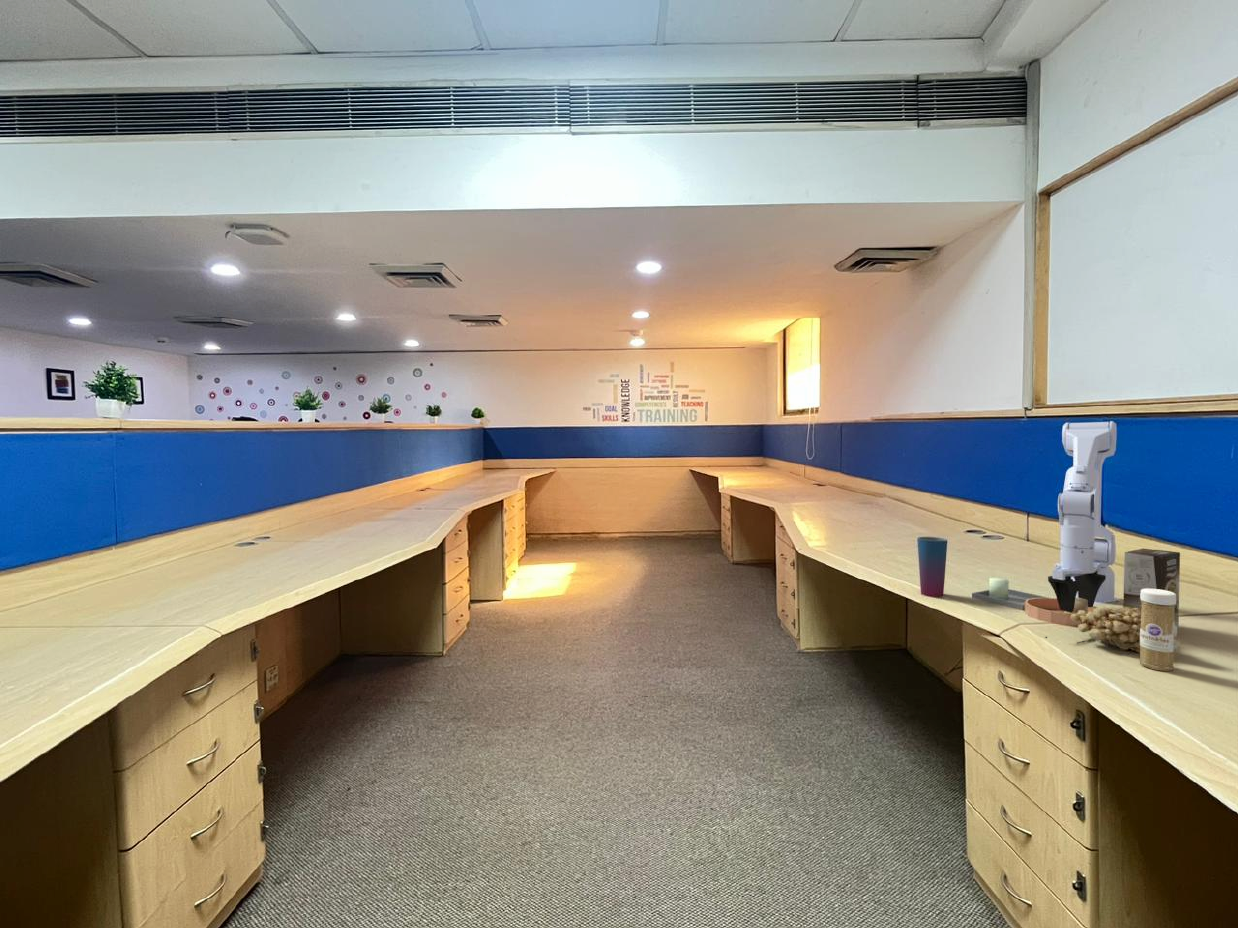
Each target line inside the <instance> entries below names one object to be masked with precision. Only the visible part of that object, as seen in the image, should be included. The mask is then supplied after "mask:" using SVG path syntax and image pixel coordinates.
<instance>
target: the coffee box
mask: <svg viewBox="0 0 1238 928" xmlns="http://www.w3.org/2000/svg"><path fill="white" fill-rule="evenodd" d="M1180 560H1181V552H1179V551H1172V550H1160V549H1150V548H1140V549H1134V550H1129V551H1125V552H1124V560H1123V561H1124V565H1123V567H1124V568H1123V599H1122V601H1123V603H1122V604H1123V605H1122V608H1123V607H1129V608H1130V609H1132V608H1138V609H1139V610H1140V611H1141V609H1142V602H1141V599H1140V593H1141V590H1142V589H1146V588H1149V589H1160V590H1166V591H1170V592H1173V593H1175V594H1176V604H1175V614H1174V621H1175V626H1177V627H1178V628H1179V625H1180V624H1179V623H1180V621H1179V619H1180V573H1181V571H1180V569H1181V567H1180V566H1181V563H1180V562H1181V561H1180Z"/></svg>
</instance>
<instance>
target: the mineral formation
mask: <svg viewBox="0 0 1238 928" xmlns="http://www.w3.org/2000/svg"><path fill="white" fill-rule="evenodd" d="M1070 618H1071V619H1072V620H1073V621H1080V622H1081V623H1082V624H1079V625H1078V626H1077V628H1078V631H1079V632H1080V633H1081V632H1082V633H1085V632H1086V633H1087V632H1088V636H1089V637H1090V638H1092V639H1093V640H1095V641H1100V642H1103V644H1104V643H1105V644H1110V645H1113V646H1117V647H1118V648H1119V649H1121V650H1124V651H1128V649H1130V650H1133V651H1135V652H1138V653H1139V654H1140V628H1141V611H1140V610H1139V609H1138V608H1132V609H1130V608H1129V607H1123V606H1122V607H1120V606H1119V607H1114V606H1111V607H1109V608H1108V607H1106V606H1103V607H1097V608H1095V609H1093V612H1091V611H1089V612H1087V611H1083V610H1079V611H1078V613H1077V614H1072V615H1071V617H1070ZM1178 629H1179V627H1177V626H1175V632H1174V651H1176V650H1177V649H1178V648H1179V647H1180V645H1181V642H1180V638H1177V635H1178V633H1179V630H1178Z"/></svg>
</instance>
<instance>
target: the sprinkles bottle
mask: <svg viewBox="0 0 1238 928" xmlns="http://www.w3.org/2000/svg"><path fill="white" fill-rule="evenodd" d="M1140 599H1141V602H1142V609H1141V628H1140V653H1139V656H1140V657H1139V660H1138V662H1139V664H1140V665H1142V666H1144V667H1145V668H1148V669H1151V670H1156V671H1163V672H1170V671H1173V670H1175V667H1174V652H1175V650H1174V632H1175V621H1174V614H1175V604H1176V594H1175V593H1173V592H1170V591H1166V590H1160V589H1149V588H1146V589H1142V590H1141V593H1140Z"/></svg>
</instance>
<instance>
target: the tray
mask: <svg viewBox="0 0 1238 928" xmlns="http://www.w3.org/2000/svg"><path fill="white" fill-rule="evenodd" d="M1031 598H1049V596H1048V597H1047V596H1042V595H1038V594H1035V593H1029V592H1024V591H1021V590H1014V589H1011V588H1009V589H1008V599H1007V600H1002V599H997V598H993V597H989V589H985V590H982V591H981V590H979V591H976V592H975V591H974V592H972V593H971V599H974V600H978V601H983V602H986V603H991V604H996V605H998V606H1004V607H1007V608H1012V609H1015V610H1021V611H1025V601H1026V600H1027V599H1031Z"/></svg>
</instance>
